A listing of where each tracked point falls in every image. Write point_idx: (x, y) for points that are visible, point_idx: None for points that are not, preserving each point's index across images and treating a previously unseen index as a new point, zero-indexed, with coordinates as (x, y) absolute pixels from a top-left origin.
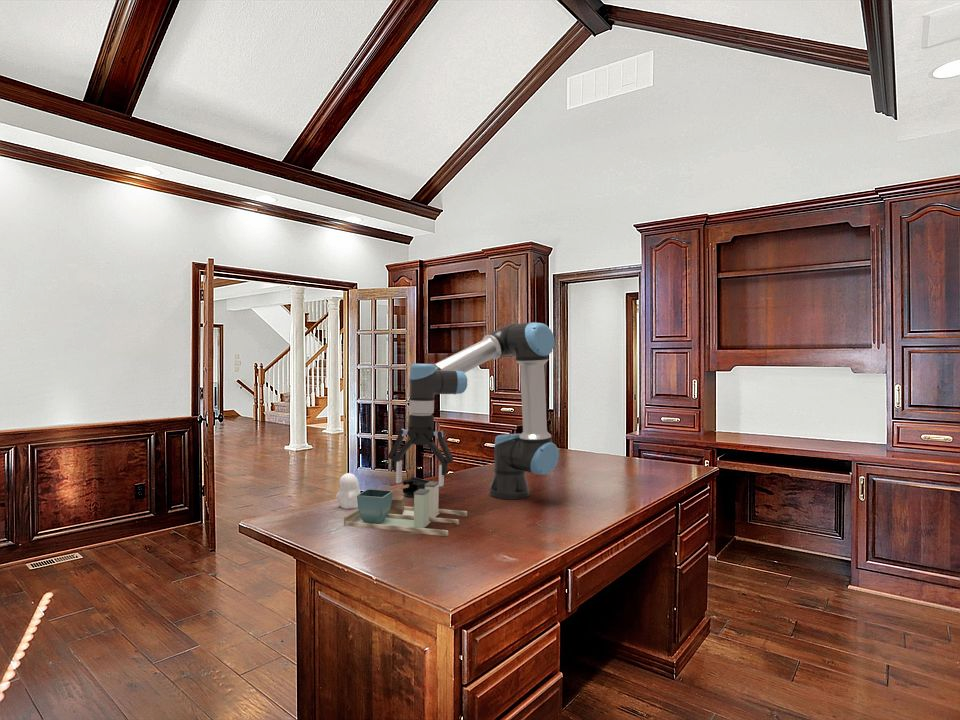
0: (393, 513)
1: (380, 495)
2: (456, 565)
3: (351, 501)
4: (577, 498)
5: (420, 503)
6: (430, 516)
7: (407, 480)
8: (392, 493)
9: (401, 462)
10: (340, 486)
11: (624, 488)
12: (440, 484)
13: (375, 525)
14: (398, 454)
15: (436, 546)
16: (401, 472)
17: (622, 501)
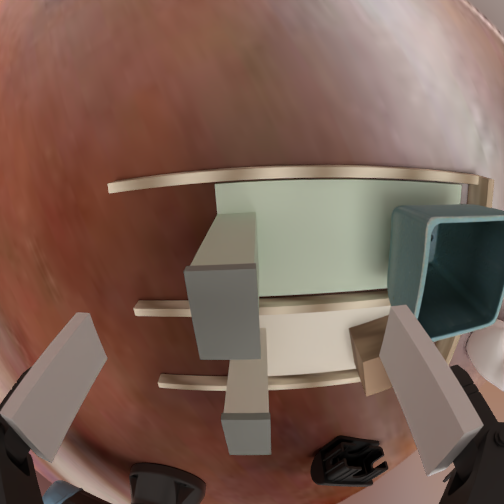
0: (377, 322)
1: (444, 318)
2: (44, 8)
3: (494, 329)
4: (71, 457)
5: (217, 247)
6: None
7: (378, 472)
8: None
9: (428, 458)
10: None
11: (63, 476)
12: (73, 321)
13: (393, 168)
14: (494, 495)
15: (112, 79)
16: (400, 397)
17: None
